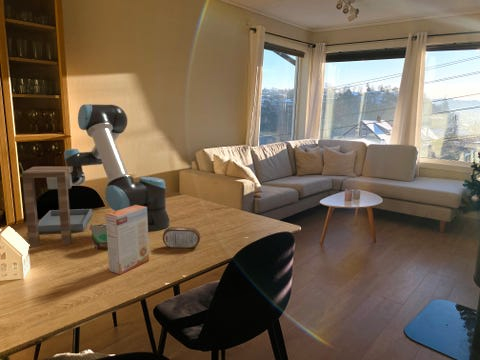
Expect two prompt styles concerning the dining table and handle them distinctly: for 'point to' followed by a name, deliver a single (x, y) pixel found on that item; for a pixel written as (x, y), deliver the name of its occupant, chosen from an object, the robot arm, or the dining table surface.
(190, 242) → the tin
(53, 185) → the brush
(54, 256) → the dining table surface
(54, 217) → the tray
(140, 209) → the cracker box
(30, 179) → the shelf stand
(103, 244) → the food container
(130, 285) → the dining table surface
